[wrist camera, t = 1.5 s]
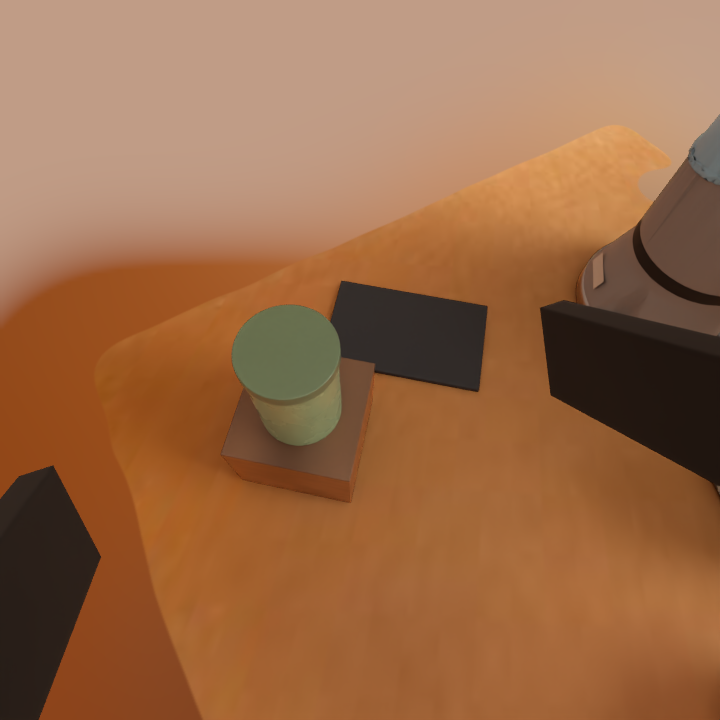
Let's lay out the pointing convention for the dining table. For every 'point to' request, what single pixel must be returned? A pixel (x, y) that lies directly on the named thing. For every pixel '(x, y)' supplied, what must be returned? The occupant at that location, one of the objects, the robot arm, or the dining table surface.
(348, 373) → the walnut block
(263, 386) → the green tin
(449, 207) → the dining table surface
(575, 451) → the dining table surface
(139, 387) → the dining table surface
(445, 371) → the rubber mat
